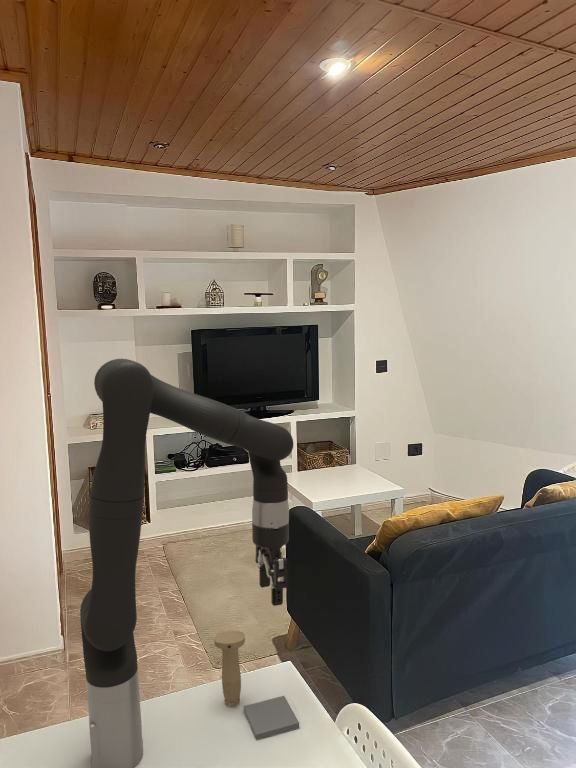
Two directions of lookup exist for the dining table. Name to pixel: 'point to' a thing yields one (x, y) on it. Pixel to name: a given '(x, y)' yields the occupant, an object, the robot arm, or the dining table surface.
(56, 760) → the dining table surface
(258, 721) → the plate
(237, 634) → the handle
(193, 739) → the dining table surface
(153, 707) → the dining table surface
